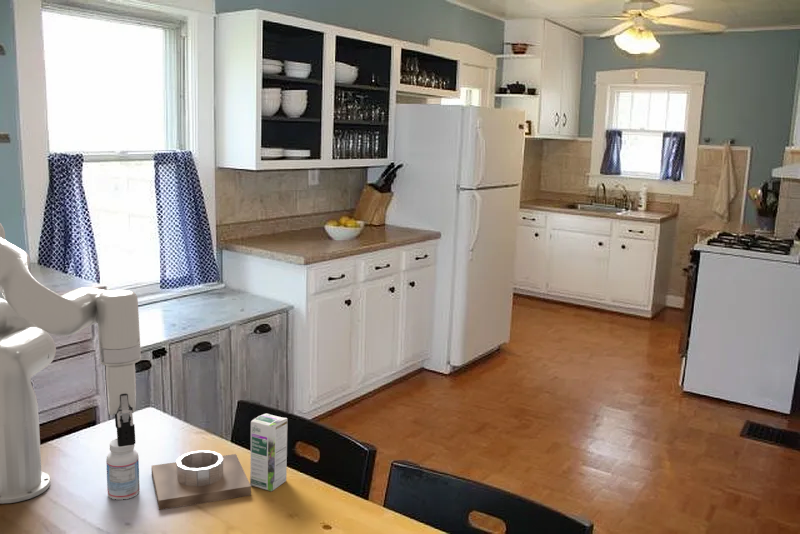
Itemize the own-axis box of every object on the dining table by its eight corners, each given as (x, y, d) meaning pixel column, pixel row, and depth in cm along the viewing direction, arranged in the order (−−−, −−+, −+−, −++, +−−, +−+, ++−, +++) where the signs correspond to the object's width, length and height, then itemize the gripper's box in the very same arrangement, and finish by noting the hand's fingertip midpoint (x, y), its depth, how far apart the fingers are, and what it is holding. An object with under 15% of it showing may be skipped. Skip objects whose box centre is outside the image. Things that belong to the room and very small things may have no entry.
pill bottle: (117, 485, 151) (115, 434, 149) (145, 488, 150) (143, 437, 148) (101, 499, 145) (99, 446, 143) (130, 502, 144) (128, 449, 142)
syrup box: (249, 485, 153) (249, 420, 150) (265, 474, 158) (266, 411, 155) (271, 492, 150) (272, 426, 148) (287, 480, 155) (288, 416, 153)
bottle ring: (180, 489, 146) (179, 472, 145) (174, 469, 154) (174, 454, 154) (226, 482, 150) (226, 466, 149) (218, 463, 158) (218, 448, 157)
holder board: (158, 510, 142) (158, 500, 141) (151, 474, 156) (151, 465, 156) (250, 495, 149) (250, 486, 148) (235, 462, 163) (235, 454, 163)
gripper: (98, 343, 148) (103, 422, 151) (100, 368, 133) (106, 456, 136) (137, 340, 151) (141, 417, 154) (144, 363, 136) (148, 449, 139)
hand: (125, 435), depth 145 cm, fingers open, 9 cm apart
